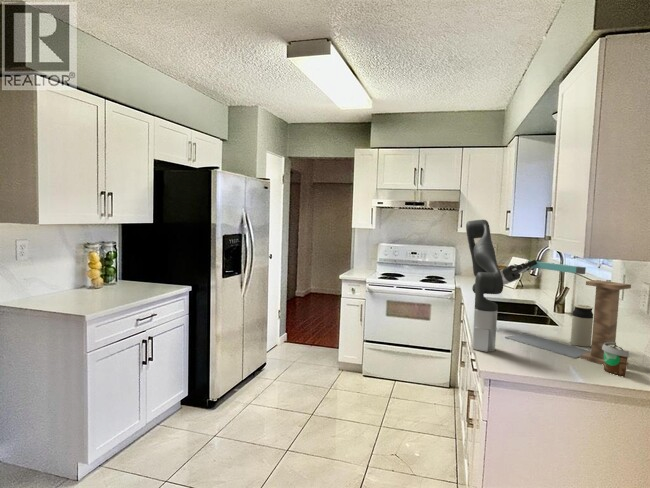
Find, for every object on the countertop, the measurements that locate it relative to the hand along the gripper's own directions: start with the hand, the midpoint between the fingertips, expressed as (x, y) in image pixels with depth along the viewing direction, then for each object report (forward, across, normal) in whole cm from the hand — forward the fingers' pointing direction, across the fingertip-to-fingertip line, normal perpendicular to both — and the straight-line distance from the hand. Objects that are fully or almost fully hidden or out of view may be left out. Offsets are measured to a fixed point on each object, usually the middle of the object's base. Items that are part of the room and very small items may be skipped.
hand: (537, 261), depth 188 cm
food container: (+14, +12, -51) cm, 54 cm away
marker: (+5, 0, -7) cm, 9 cm away
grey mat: (-12, 0, -36) cm, 38 cm away
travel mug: (-7, -15, -40) cm, 43 cm away
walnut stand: (+7, +1, -47) cm, 48 cm away
